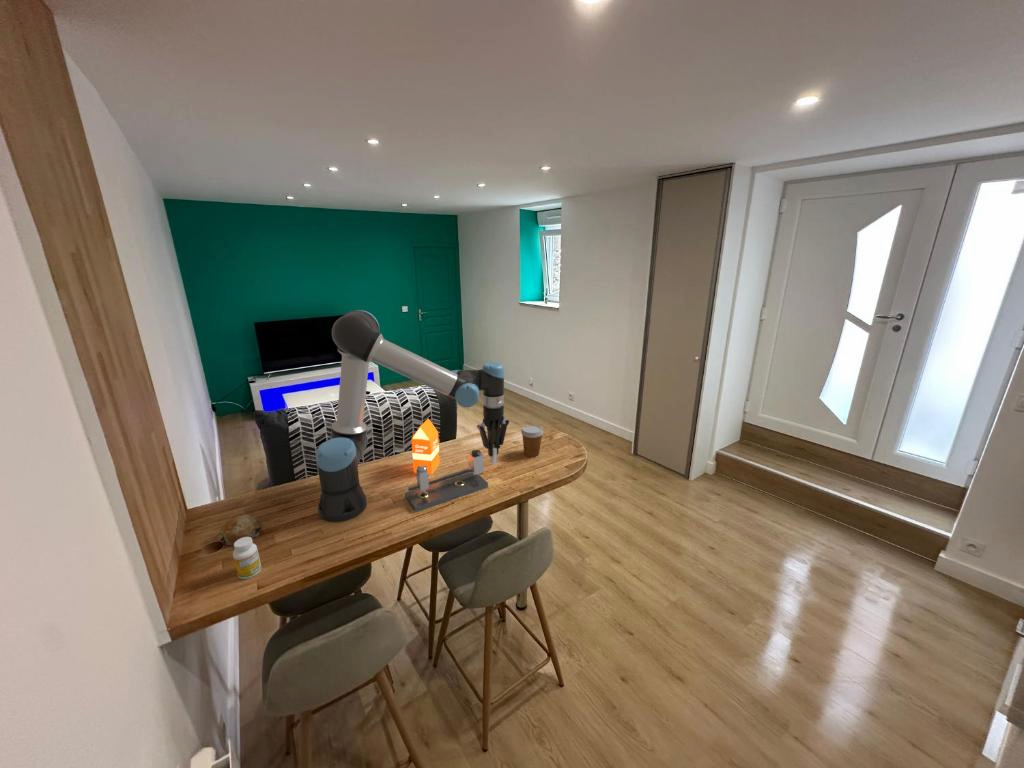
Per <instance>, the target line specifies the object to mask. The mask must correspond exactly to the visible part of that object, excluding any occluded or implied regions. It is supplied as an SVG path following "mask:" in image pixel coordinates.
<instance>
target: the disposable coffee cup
mask: <svg viewBox="0 0 1024 768" xmlns="http://www.w3.org/2000/svg"><path fill="white" fill-rule="evenodd" d="M520 433H521V434H522V435H521V436H522V445H523V453H524V454H523V455H524V456H525V455H526V456H525V457H527V458H532V457H533V458H537V457H538V456H539V455H540V450H541V444H542V439H543V438H542V437H543V434H544V430H543V427H542V426H540V425H536V424H528V425H524V426H523V427H522V428H521V430H520ZM536 456H537V457H536Z"/></svg>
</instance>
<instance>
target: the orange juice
mask: <svg viewBox="0 0 1024 768" xmlns="http://www.w3.org/2000/svg"><path fill="white" fill-rule="evenodd" d="M411 449H412V450H411V451H412V453H411V454H412V466H413V473H416V469H417V467H418V466H420V465H425V466H427V470H428V475H433V474H434V472H435V471H436V469H437V468H438V466H439V465H440V445H439V431H438V430H437V429H436V427H435V426H434V424H433V423H432V422H431V420H430V419H429V418H427V419H426V420H425V421H424V422H423V423H422V424H421V425H420V426H419V427H418V429H417V431H415V433H414V434H413V436H412V437H411ZM416 474H417V473H416Z"/></svg>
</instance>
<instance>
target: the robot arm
mask: <svg viewBox="0 0 1024 768" xmlns="http://www.w3.org/2000/svg"><path fill="white" fill-rule="evenodd" d="M331 337H332V341H333V342H334V344H335V345H336V346H337V352H338V353H339V354H340V355H341V362H340V363H341V365H340V366H341V367H340V378H339V379H340V380H339V387H338V388H339V389H338V390H339V391H338V400H337V401H338V403H337V415H336V421H334V422H333V423H332V424H331V430H330V439H328V440H327V441H324V442H322V443H321V444H320V445H318V447H317V449H316V452H315V455H316V456H315V459H316V460H315V461H316V465H317V471H318V472H317V473H318V478H319V485H320V491H321V492H320V496H319V501H318V506H317V511H318V516H319V518H320V519H321V520H323V521H326V522H330V523H331V522H332V523H340V522H345V521H348V520H351V519H354V518H356V517H358V516H359V515H361V514H362V513H363V512H364V511H365V510H366V508H367V507H368V500H367V498H368V497H367V495H366V494H365V492H364V490H363V487H362V486H361V484H360V476H359V468H358V467H359V463H360V461H361V458H362V456H363V454H364V452H365V451H366V449H367V446H368V443H369V437H368V434H367V432H368V431H367V430H368V425H367V424H366V423H365V422H364V417H365V406H366V398H367V397H366V396H367V387H368V378H369V376H368V375H369V367H370V363H372V362H373V363H376V364H378V365H380V366H381V367H384V368H387V369H389V370H390V371H393V372H395V373H397V374H400V375H401V376H403V377H406V378H408V379H410V380H412V381H415V382H417V383H419V384H422V385H424V386H426V387H428V388H429V389H433V390H435V391H436V392H439V393H441V394H443V395H445V396H447V397H449V398H452V399H454V400H456V401H455V402H456V403H457V404H458V405H459V406H461V407H463V408H473V406H475V405H476V404H477V403H478V401H479V399H480V391H482V404H483V407H482V408H483V409H482V414H483V415H482V416H483V419H482V423H481V424H478V425H476V428H477V429H478V430H479V434H480V438H481V442H482V445H483V447H484V448H485V449H487V454H488V457H489V462H490V463H491V464H492V465H497V464H498V455H499V453H500V448H501V445H504V442H505V438H506V437H505V436H506V432H507V428H508V425H509V423H510V420H508V419H507V418H506V417H505V416H504V413H505V412H504V410H505V409H504V406H505V405H504V402H505V401H504V399H505V397H504V395H505V394H504V392H505V371H504V370H505V368H504V365H503V364H501V363H499V362H494V361H493V362H486V363H484V364H483V365H482V368H481V369H455V370H449V369H447V368H445V367H442V366H440V365H439V364H437V363H435V362H432V361H431V360H428V359H427V358H424V357H422V356H420V355H418V354H416V353H414V352H412V351H410V350H408V349H406V348H403V347H401V346H399V345H398V344H395V343H393V342H390V340H387V339H385V338H384V336H383V333H380V324H379V322H378V319H377V318H376V317H375V315H374V314H372V313H371V312H369V311H366V310H361V309H357V310H351V311H348V312H347V313H346V314H344V315H342V316H340V317H339V318H338V319H337V320H336V321H335V322H334V323H333V326H332V328H331Z"/></svg>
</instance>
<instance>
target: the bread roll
mask: <svg viewBox="0 0 1024 768" xmlns="http://www.w3.org/2000/svg"><path fill="white" fill-rule="evenodd" d="M261 527H262V525H261V521H260V520H259V519H258V518H257V517H255V516H253V515H249V514H242V515H238V516H236V517H234V518H232V519H229V520H228V521H226V523H225V524H224V525H223V526H222V528H221V529H220V530H219V535H218V536H217V538H218V540H219V541H221V542H222V544H224V545H227V546H234V543H235V542H236V541H237V540H238V539H240V538H243V537H251V538H252V540H253V539H255V538H258V537H259V535H260V533H261V532H260V531H261Z"/></svg>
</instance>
